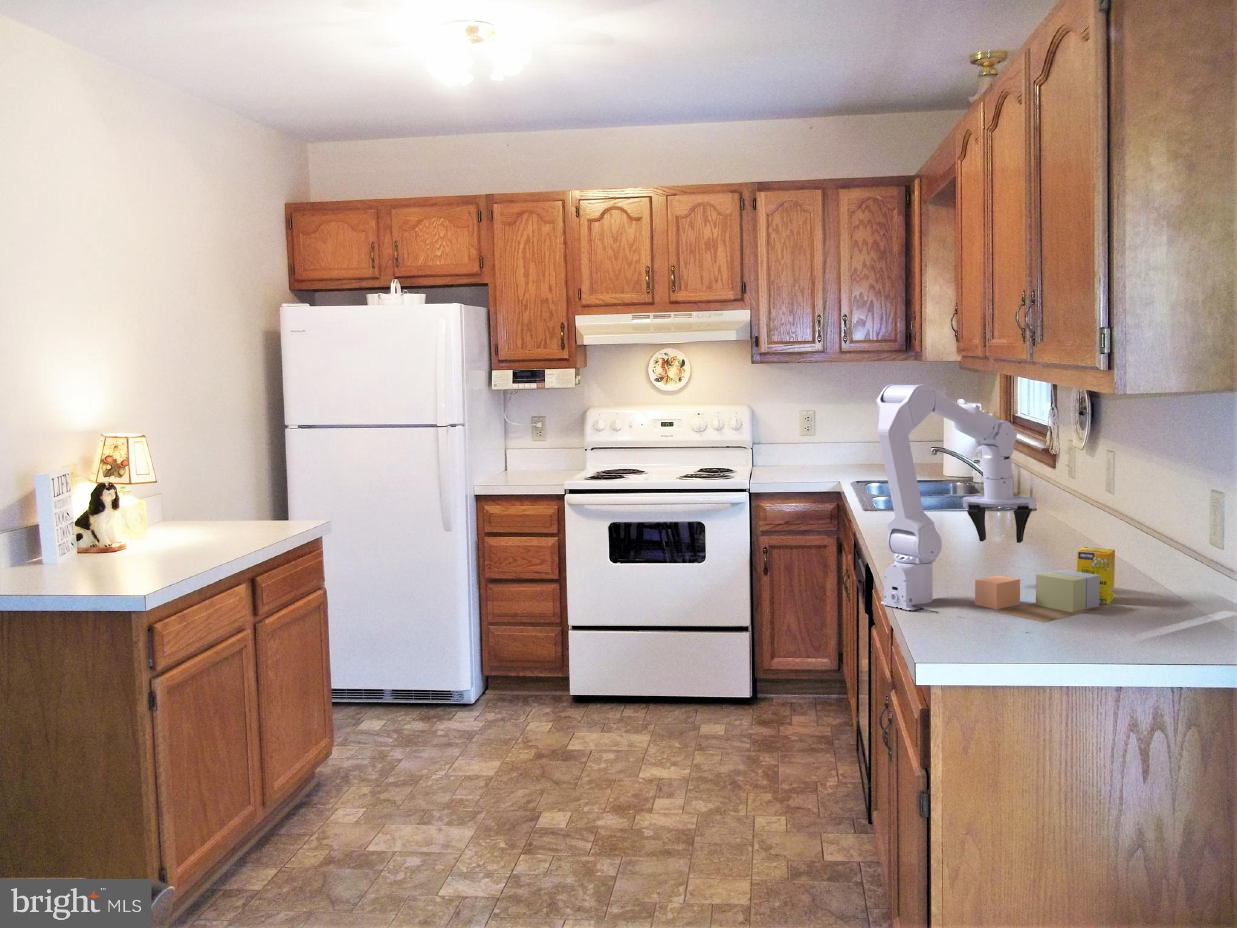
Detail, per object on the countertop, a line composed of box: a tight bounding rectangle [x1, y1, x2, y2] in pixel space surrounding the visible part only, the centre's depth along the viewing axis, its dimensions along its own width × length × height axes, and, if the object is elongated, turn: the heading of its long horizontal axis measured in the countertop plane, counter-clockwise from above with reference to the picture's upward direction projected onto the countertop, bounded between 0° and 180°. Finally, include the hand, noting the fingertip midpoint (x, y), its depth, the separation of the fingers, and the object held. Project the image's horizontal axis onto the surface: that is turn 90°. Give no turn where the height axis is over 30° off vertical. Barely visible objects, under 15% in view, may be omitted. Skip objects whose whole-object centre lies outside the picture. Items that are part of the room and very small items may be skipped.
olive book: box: [1035, 571, 1086, 612], centre depth 210 cm, size 4×8×6 cm, turn 33°
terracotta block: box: [974, 575, 1021, 610], centre depth 214 cm, size 7×5×6 cm
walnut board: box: [993, 601, 1109, 623], centre depth 209 cm, size 20×11×1 cm, turn 123°
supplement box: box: [1076, 546, 1116, 605], centre depth 216 cm, size 6×6×11 cm
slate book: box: [1050, 568, 1100, 609], centre depth 213 cm, size 4×8×6 cm, turn 33°
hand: (1001, 541), depth 230 cm, fingers open, 7 cm apart
